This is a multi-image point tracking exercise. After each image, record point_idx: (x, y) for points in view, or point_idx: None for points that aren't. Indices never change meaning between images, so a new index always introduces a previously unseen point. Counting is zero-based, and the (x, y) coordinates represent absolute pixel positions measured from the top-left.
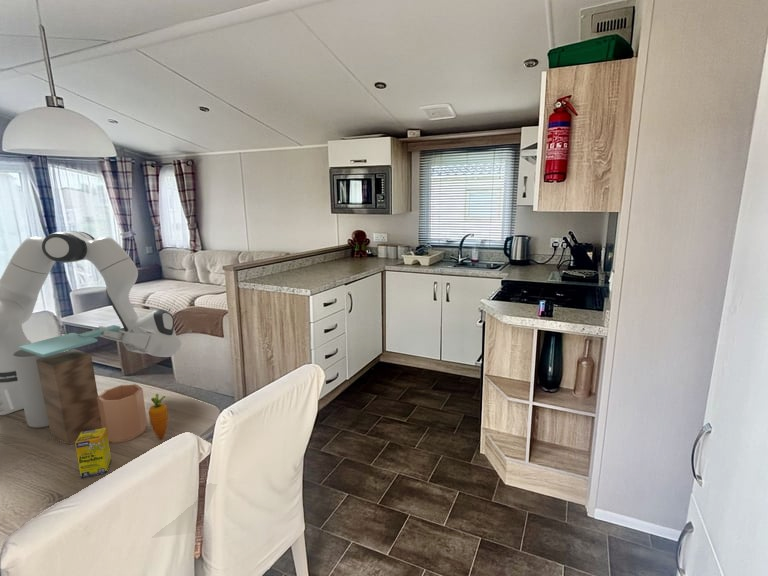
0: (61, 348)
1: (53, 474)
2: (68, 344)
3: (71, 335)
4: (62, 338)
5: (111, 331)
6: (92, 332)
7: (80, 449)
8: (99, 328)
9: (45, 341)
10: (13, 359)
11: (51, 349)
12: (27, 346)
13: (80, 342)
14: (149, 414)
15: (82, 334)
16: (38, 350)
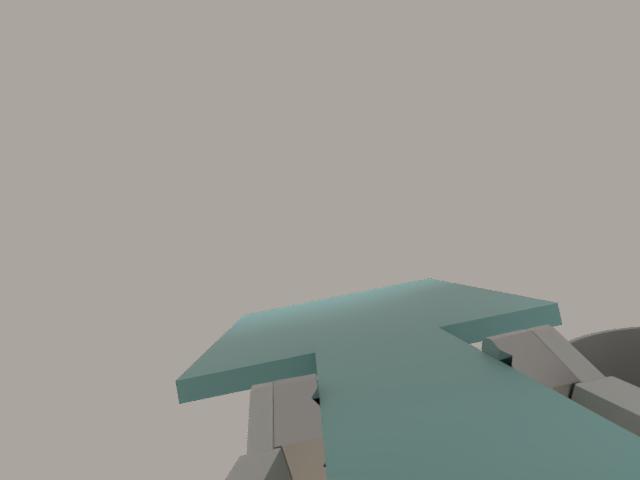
0: (242, 325)
1: None
2: (269, 328)
3: (461, 311)
4: (424, 305)
5: (244, 456)
6: (379, 346)
7: None
8: (513, 362)
9: (429, 291)
10: (627, 348)
11: (272, 315)
12: (402, 285)
13: (234, 344)
14: None
15: (385, 324)
16: (309, 303)
